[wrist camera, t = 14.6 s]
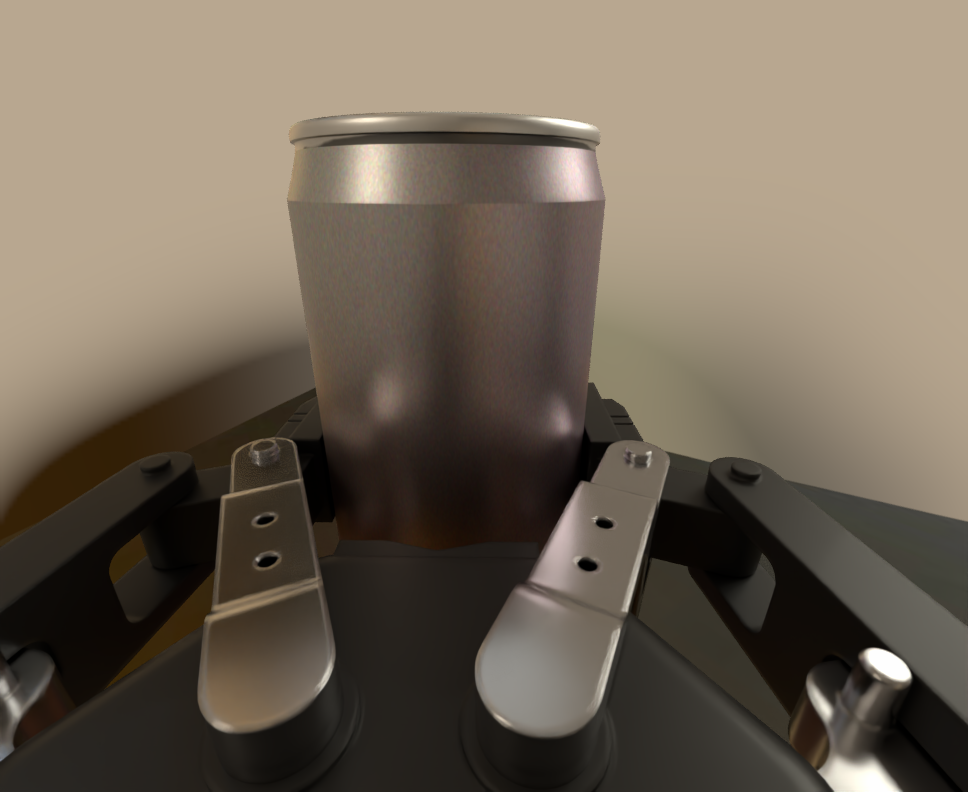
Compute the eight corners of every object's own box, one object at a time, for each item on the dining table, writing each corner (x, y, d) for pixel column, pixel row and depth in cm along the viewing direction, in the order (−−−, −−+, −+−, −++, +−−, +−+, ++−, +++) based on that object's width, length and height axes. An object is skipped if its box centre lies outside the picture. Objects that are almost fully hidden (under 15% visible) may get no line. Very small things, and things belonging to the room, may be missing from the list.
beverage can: (354, 629, 17) (279, 139, 11) (512, 584, 19) (526, 145, 12) (381, 828, 12) (268, 98, 6) (597, 737, 13) (689, 120, 7)
